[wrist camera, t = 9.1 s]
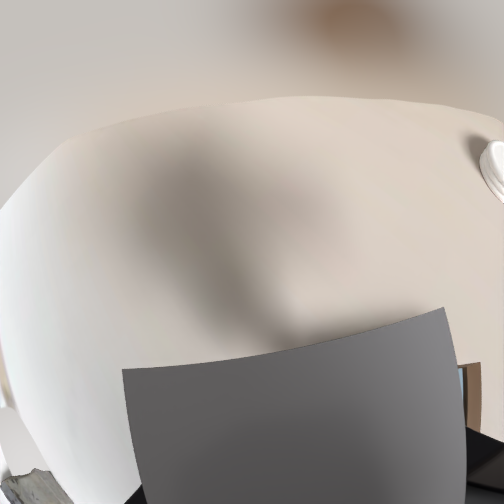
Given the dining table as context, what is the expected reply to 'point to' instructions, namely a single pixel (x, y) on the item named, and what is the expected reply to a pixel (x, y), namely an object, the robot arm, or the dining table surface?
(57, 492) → the fossil rock
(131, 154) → the dining table surface
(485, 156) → the coaster
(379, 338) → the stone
